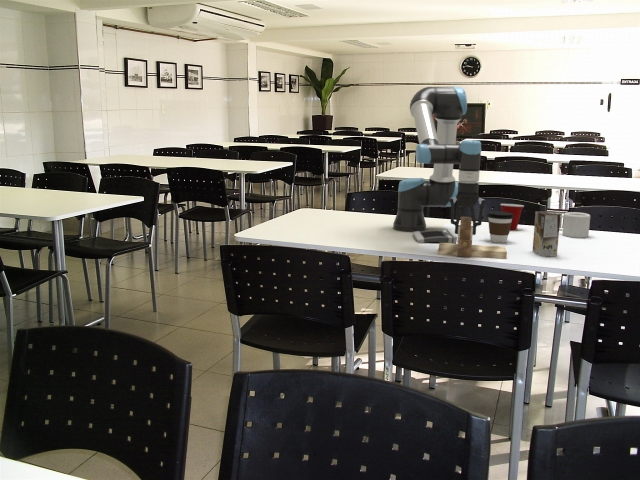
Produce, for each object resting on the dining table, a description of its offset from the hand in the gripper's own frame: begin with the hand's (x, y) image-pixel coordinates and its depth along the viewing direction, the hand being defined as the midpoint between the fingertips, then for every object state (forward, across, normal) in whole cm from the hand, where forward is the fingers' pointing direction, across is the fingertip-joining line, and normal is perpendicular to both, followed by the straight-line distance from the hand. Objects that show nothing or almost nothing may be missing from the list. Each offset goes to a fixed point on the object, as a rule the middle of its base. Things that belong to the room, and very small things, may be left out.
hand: (464, 242), depth 235 cm
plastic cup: (+4, +21, +59) cm, 63 cm away
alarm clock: (+5, -13, +24) cm, 28 cm away
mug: (+5, +47, +51) cm, 70 cm away
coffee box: (+4, +30, +8) cm, 32 cm away
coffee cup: (+4, +14, +28) cm, 32 cm away
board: (+4, +3, 0) cm, 5 cm away
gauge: (+4, 0, -1) cm, 4 cm away
